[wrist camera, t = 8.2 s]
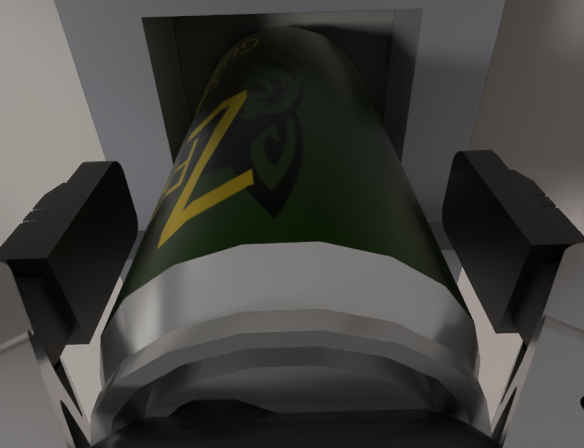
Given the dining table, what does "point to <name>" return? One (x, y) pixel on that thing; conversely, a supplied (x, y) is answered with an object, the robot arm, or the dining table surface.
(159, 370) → the beer can
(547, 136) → the dining table surface
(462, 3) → the grey square frame
